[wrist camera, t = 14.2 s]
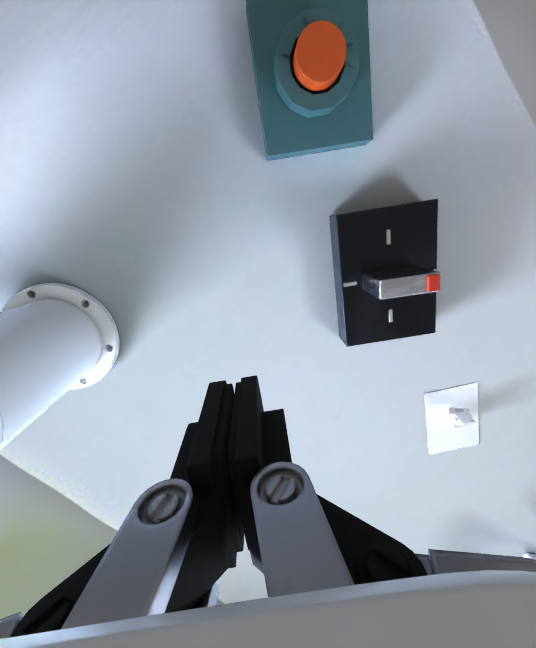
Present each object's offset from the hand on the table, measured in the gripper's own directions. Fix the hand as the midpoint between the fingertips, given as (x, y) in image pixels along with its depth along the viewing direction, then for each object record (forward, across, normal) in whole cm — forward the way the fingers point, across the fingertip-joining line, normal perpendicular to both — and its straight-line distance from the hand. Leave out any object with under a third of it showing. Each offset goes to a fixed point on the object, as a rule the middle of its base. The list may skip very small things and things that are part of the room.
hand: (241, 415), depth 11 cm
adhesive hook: (+25, -24, +22) cm, 41 cm away
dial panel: (+25, -14, +1) cm, 29 cm away
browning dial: (+22, -14, +1) cm, 26 cm away
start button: (+21, -9, -18) cm, 29 cm away
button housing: (+25, -9, -18) cm, 32 cm away
